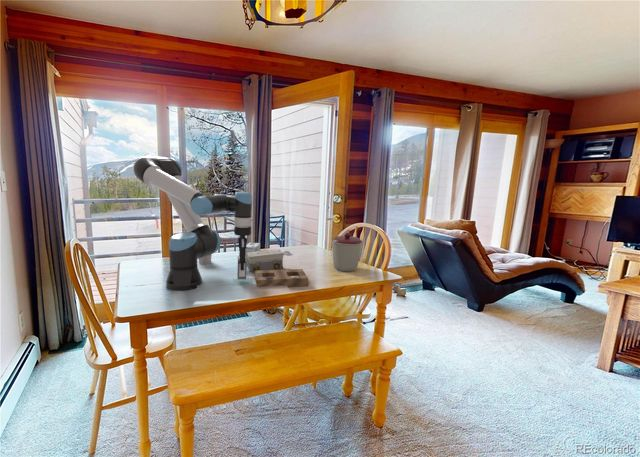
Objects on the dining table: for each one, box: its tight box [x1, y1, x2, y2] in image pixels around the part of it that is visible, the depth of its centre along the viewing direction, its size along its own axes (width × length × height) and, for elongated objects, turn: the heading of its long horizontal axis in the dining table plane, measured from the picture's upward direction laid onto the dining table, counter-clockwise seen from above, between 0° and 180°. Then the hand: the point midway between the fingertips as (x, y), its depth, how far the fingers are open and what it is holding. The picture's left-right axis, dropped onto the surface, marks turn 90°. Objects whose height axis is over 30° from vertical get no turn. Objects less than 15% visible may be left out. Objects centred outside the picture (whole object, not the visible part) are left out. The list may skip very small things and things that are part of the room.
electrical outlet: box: [236, 248, 294, 273], centre depth 175 cm, size 12×28×10 cm, turn 110°
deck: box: [232, 277, 254, 287], centre depth 154 cm, size 9×9×1 cm
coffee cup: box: [197, 254, 213, 265], centre depth 183 cm, size 10×10×15 cm
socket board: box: [254, 268, 309, 288], centre depth 158 cm, size 24×14×4 cm, turn 104°
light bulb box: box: [245, 242, 261, 266], centre depth 187 cm, size 11×7×11 cm, turn 175°
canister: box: [330, 232, 364, 272], centre depth 183 cm, size 18×18×21 cm
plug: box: [236, 255, 248, 280], centre depth 153 cm, size 4×4×10 cm
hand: (241, 274), depth 153 cm, fingers closed on plug, 4 cm apart
